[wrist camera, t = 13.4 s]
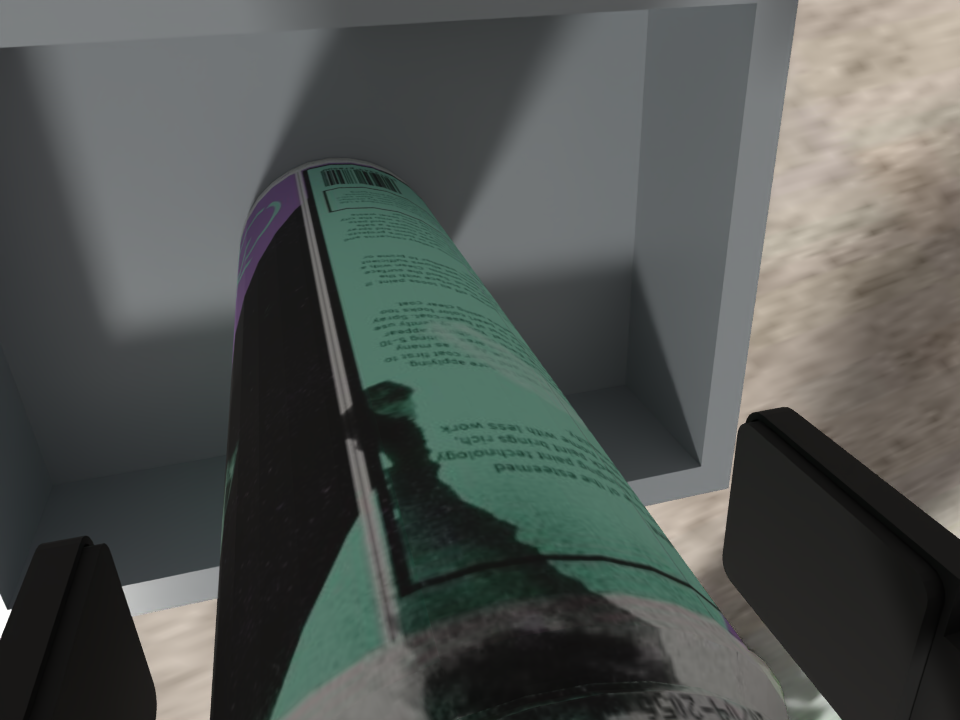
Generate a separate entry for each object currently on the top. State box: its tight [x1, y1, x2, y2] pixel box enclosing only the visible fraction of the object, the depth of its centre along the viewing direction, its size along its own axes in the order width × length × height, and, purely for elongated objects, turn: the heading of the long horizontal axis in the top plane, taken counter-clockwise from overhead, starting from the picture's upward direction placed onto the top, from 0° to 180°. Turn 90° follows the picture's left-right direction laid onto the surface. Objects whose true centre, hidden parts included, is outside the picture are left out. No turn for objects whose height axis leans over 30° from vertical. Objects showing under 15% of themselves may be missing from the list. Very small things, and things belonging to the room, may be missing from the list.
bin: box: [0, 0, 798, 638], centre depth 20 cm, size 20×14×6 cm
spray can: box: [210, 158, 789, 720], centre depth 13 cm, size 6×6×20 cm
